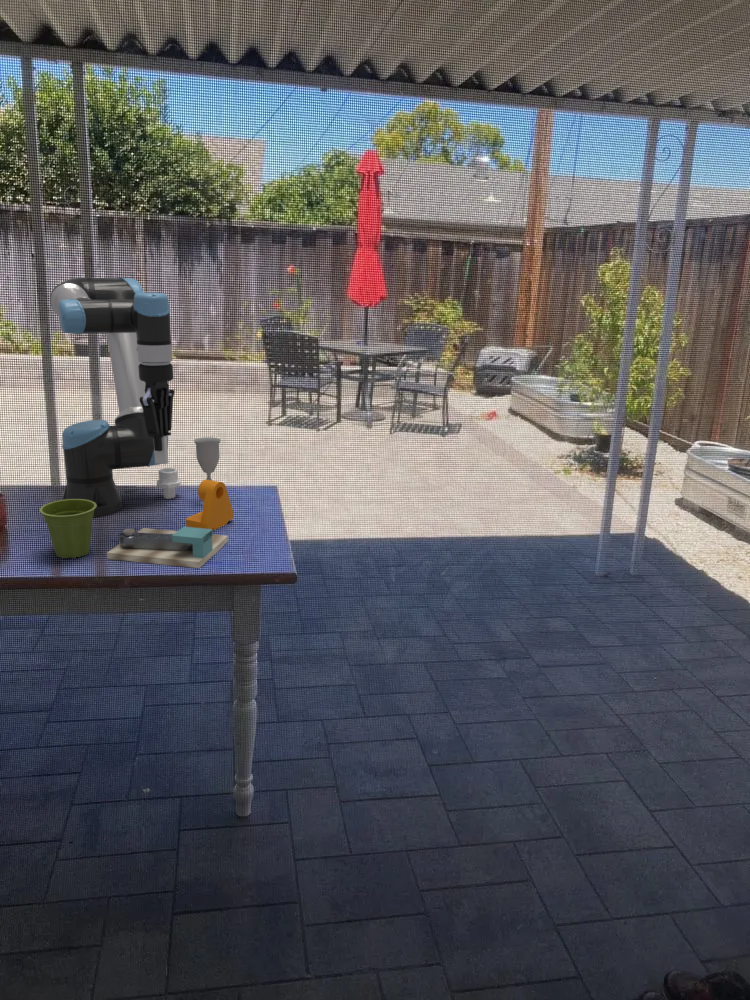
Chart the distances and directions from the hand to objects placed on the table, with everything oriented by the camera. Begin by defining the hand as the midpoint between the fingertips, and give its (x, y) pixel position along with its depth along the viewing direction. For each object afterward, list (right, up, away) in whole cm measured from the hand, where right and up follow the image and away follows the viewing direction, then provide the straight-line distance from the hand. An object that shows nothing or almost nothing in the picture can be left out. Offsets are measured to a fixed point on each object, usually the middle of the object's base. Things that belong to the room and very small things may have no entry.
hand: (161, 463), depth 176 cm
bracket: (+8, -15, +14) cm, 22 cm away
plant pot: (-18, -21, -7) cm, 29 cm away
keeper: (+10, -21, -8) cm, 24 cm away
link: (+1, -19, -6) cm, 20 cm away
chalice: (+5, -10, +31) cm, 33 cm away
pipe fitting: (-8, -8, +35) cm, 37 cm away
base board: (+3, -20, -3) cm, 21 cm away
